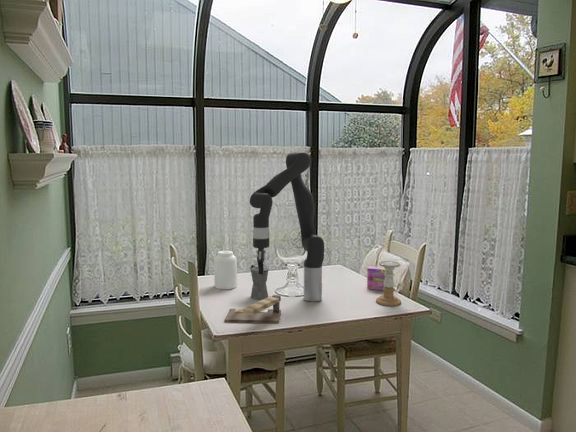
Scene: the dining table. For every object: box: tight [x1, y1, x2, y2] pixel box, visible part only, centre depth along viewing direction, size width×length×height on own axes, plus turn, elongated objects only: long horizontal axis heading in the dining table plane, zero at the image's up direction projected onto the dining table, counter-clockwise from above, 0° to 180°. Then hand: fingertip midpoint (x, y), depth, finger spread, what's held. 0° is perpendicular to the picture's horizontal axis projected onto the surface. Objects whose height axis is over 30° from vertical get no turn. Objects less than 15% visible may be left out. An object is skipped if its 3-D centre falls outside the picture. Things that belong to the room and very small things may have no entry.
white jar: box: [213, 249, 238, 290], centre depth 268 cm, size 12×12×20 cm
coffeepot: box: [250, 264, 269, 301], centre depth 251 cm, size 15×9×18 cm, turn 33°
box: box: [366, 265, 386, 291], centre depth 268 cm, size 10×6×12 cm, turn 68°
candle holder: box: [375, 260, 402, 307], centre depth 242 cm, size 12×12×20 cm
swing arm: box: [242, 294, 282, 315], centre depth 215 cm, size 24×5×2 cm, turn 149°
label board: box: [224, 301, 282, 324], centre depth 220 cm, size 24×15×6 cm, turn 88°
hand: (261, 273), depth 223 cm, fingers closed
